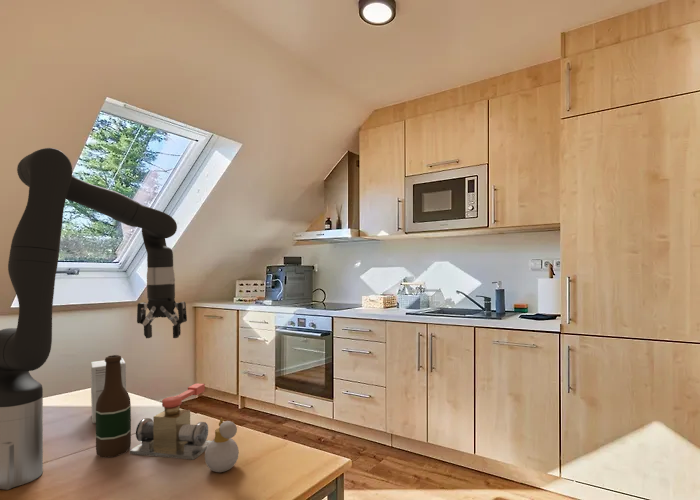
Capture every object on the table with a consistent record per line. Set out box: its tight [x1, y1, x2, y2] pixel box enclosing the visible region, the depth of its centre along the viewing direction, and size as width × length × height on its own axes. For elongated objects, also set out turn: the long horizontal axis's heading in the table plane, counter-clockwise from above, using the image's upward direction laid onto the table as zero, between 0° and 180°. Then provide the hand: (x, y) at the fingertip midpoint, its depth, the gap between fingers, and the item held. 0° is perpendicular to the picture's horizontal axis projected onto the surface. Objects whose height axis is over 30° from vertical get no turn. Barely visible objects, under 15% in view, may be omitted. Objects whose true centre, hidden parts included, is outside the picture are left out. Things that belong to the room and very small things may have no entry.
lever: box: [161, 382, 206, 408], centre depth 116 cm, size 15×5×2 cm, turn 167°
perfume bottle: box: [204, 417, 240, 473], centre depth 99 cm, size 8×10×12 cm
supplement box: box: [90, 357, 127, 424], centre depth 136 cm, size 10×9×17 cm
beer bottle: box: [95, 354, 132, 459], centre depth 110 cm, size 8×8×24 cm
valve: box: [128, 405, 213, 460], centre depth 111 cm, size 9×18×11 cm, turn 77°
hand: (162, 337), depth 127 cm, fingers open, 8 cm apart
